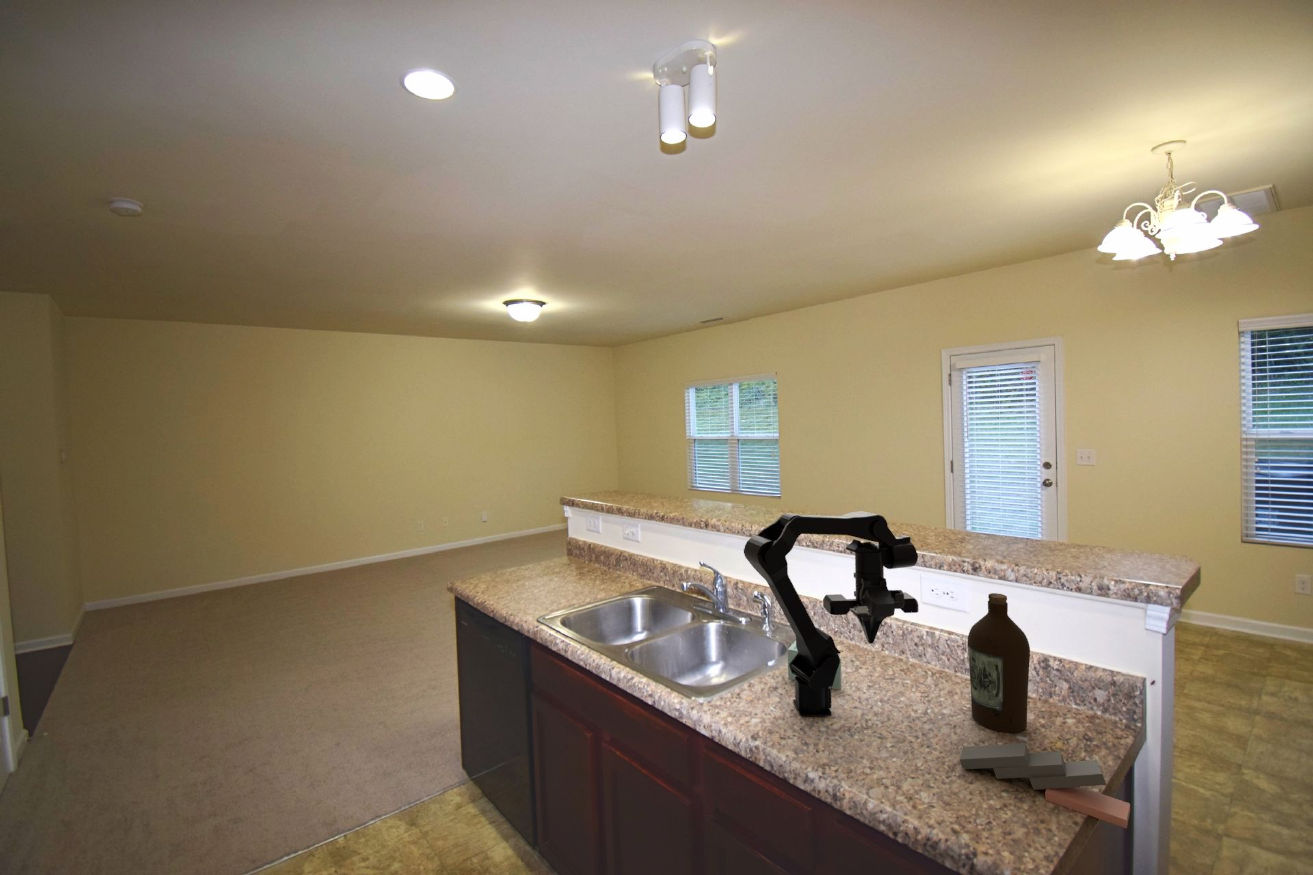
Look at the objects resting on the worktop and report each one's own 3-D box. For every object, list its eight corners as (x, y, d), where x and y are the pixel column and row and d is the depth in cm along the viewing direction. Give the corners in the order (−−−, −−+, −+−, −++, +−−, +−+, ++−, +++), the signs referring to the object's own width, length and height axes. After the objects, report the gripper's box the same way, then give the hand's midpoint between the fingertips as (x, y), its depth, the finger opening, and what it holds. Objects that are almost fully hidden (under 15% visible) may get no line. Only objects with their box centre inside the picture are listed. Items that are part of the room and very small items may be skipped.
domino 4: (1045, 791, 92) (1126, 819, 85) (1051, 777, 96) (1130, 803, 89) (1045, 801, 92) (1126, 830, 85) (1051, 786, 96) (1130, 813, 89)
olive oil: (991, 703, 123) (990, 584, 122) (1043, 726, 113) (1042, 598, 113) (956, 715, 118) (955, 592, 118) (1006, 740, 109) (1005, 607, 108)
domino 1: (959, 759, 100) (1024, 755, 95) (963, 746, 104) (1025, 742, 99) (963, 769, 100) (1028, 766, 95) (966, 756, 104) (1029, 752, 99)
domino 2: (993, 768, 97) (1061, 764, 92) (994, 755, 102) (1060, 750, 97) (996, 778, 97) (1066, 775, 92) (998, 765, 101) (1064, 761, 96)
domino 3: (1029, 778, 94) (1102, 773, 90) (1027, 765, 98) (1096, 759, 94) (1033, 789, 94) (1106, 784, 89) (1031, 775, 98) (1100, 770, 94)
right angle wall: (840, 691, 131) (840, 658, 131) (788, 680, 137) (787, 649, 137) (852, 671, 141) (852, 640, 141) (803, 662, 147) (802, 632, 147)
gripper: (838, 582, 118) (839, 659, 118) (930, 579, 118) (931, 656, 118) (821, 568, 129) (823, 638, 129) (906, 566, 129) (907, 636, 129)
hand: (870, 642), depth 126 cm, fingers closed
